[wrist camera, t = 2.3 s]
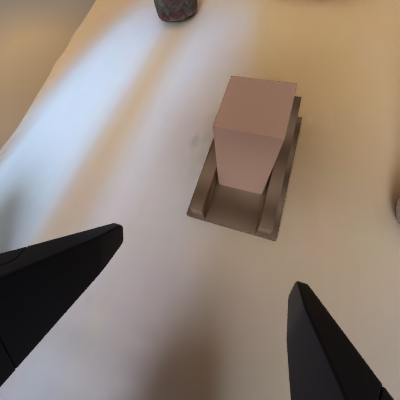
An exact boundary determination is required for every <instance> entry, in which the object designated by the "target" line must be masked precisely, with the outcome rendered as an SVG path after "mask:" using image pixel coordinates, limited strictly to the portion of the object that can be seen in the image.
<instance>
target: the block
mask: <svg viewBox="0 0 400 400" xmlns="http://www.w3.org/2000/svg"><path fill="white" fill-rule="evenodd" d="M296 87H297V84H296V83H288V82H279V81H271V80H262V79H254V78H245V77H237V76H231V78H230V81H229V83H228V86H227V89H226V92H225V94H224V97H223V100H222V103H221V105H220V108H219V111H218V114H217V116H216V119H215V122H214V124H213V132H214V142H215V152H216V162H217V172H218V181H219V184H220V185H224V186H228V187H232V188H237V189H241V190H245V191H249V192H253V193H257V194H261V195H262V193H263V190H264V188H265V185H266V183H267V181H268V178H269V176H270V173H271V171H272V168H273V166H274V163H275V161H276V159H277V156H278V154H279V151H280V149H281V146H282V144H283V142H284V139H285V135H286V131H287V126H288V122H289V118H290V113H291V109H292V105H293V100H294V96H295V92H296Z"/></svg>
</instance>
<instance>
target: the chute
mask: <svg viewBox="0 0 400 400" xmlns="http://www.w3.org/2000/svg"><path fill="white" fill-rule="evenodd" d="M300 102H301V97H296V96H294V100H293V105H292V109H291V113H290V118H289V122H288V126H287V131H286V135H285V139H284V142H283V144H282V146H281V149H280V151H279V154H278V156H277V159H276V161H275V163H274V166H273V168H272V171H271V173H270V176H269V178H268V181H267V183H266V185H265V188H264V190H263V193H262V195H261V194H257V193H253V192H249V191H245V190H241V189H237V188H232V187H228V186H224V185H220V184H219V181H218V172H217V162H216V152H215V142H214V138H213V141H212V144H211V147H210V149H209V152H208V155H207V158H206V161H205V163H204V166H203V169H202V172H201V175H200V177H199V180H198V183H197V186H196V189H195V191H194V194H193V197H192V200H191V203H190V205H189V208H188V211H187V215H188V216H190V217H193V218H197V219H200V220H204V221H207V222H211V223H214V224H218V225H221V226H225V227H228V228H232V229H235V230H238V231H242V232H245V233H249V234H252V235H256V236H259V237H263V238H266V239H270V240H273V241H276V240H277V235H278V230H279V226H280V221H281V216H282V211H283V206H284V202H285V197H286V192H287V187H288V182H289V178H290V173H291V168H292V163H293V158H294V154H295V149H296V144H297V139H298V134H299V130H300V125H301V120H302V118H301V117H297V116H298V111H299V107H300Z"/></svg>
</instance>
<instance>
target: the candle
mask: <svg viewBox="0 0 400 400" xmlns="http://www.w3.org/2000/svg"><path fill="white" fill-rule="evenodd" d="M154 3H155V7H156V10H157V13H158V16H159V18H160V19H161V20H163V21H182V20H184V19H185V18H187V17H189V16H191V15H193V13H194V12H196V11H197V0H154Z"/></svg>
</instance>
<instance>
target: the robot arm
mask: <svg viewBox="0 0 400 400" xmlns="http://www.w3.org/2000/svg"><path fill="white" fill-rule="evenodd" d="M122 242H123V227H122V226H121V225H119V224H116V223H112V224H109V225H105V226H101V227H97V228H94V229H90V230H86V231H83V232H79V233H75V234H72V235H68V236H64V237H61V238H57V239H53V240H49V241H46V242H42V243H38V244H35V245H31V246H28V247H23V248H20V249H16V250H12V251H8V252H5V253H1V254H0V387H1V385H2V384H3V383H4V382H5V381H6V380H7V379H8V378H9V376H10V375H11V374H12V373H13V372H14V371H15V368H17V367H18V366H19V365H20V364H21V363H22V361H23V360H24V359H25V358H26V357H27V356H28V355H29V353H30V352H31V351H32V350H33V349H34V348H35V347H36V345H37V344H38V343H39V342H40V341H41V340H42V339H43V338H44V336H45V335H46V334H47V333H48V332H49V331H50V330H51V328H52V327H53V326H54V325H55V324H56V323H57V322H58V320H59V319H60V318H61V317H62V316H63V315H64V314H65V313H66V311H67V310H68V309H69V308H70V307H71V306H72V305H73V303H74V302H75V301H76V300H77V299H78V298H79V297H80V295H81V294H82V293H83V292H84V291H85V290H86V289H87V288H88V286H89V285H90V284H91V283H92V282H93V281H94V280H95V278H96V277H97V276H98V275H99V274H100V273H101V272H102V270H103V269H104V268H105V267H106V265H107V264H108V262H109V261H110V260H111V258H112V257H113V255H114V254H115V253H116V251H117V250H118V249H119V247H120V246H121V244H122ZM287 352H288V366H289V380H290V394H291V400H394V399H393V398H392V397H391V395H390V394H389V393H388V391H387V390H386V389H385V388H384V387H382V383H381V382H380V381H379V379H378V378H377V377H376V375H375V374H374V373H373V371H372V370H371V369H370V367H369V366H368V365H367V363H366V362H365V361H364V359H363V358H362V356H361V355H360V354H359V352H358V351H357V350H356V348H355V347H354V346H353V344H352V343H351V342H350V340H349V339H348V338H347V336H346V335H345V334H344V332H343V331H342V330H341V328H340V327H339V326H338V324H337V323H336V322H335V320H334V319H333V318H332V316H331V315H330V313H329V312H328V311H327V309H326V308H325V307H324V305H323V304H322V303H321V301H320V300H319V299H318V297H317V296H316V295H315V293H314V292H313V291H312V289H311V288H310V287H309V285H307V284H305V283H302V282H299V281H297V282H296V283H295V284H294V286H293V288H292V291H291V293H290V295H289V299H288V318H287Z"/></svg>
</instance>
